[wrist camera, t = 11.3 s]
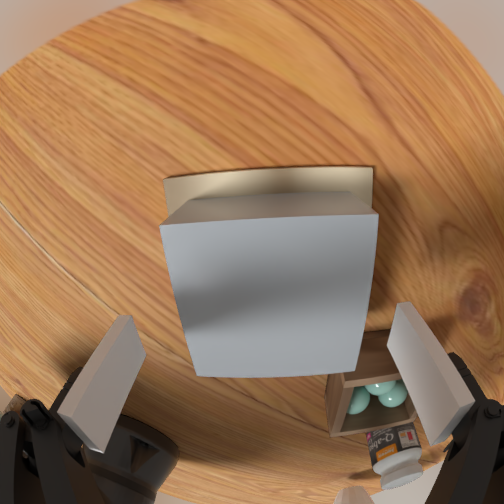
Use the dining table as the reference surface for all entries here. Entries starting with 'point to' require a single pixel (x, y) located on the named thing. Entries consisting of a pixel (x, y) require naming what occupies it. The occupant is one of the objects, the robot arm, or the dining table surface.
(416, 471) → the pill bottle
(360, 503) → the cup
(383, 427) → the walnut dish
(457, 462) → the robot arm
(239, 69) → the dining table surface
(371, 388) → the marble
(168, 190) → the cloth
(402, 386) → the marble
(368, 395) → the marble
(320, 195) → the grey cover
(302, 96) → the dining table surface
